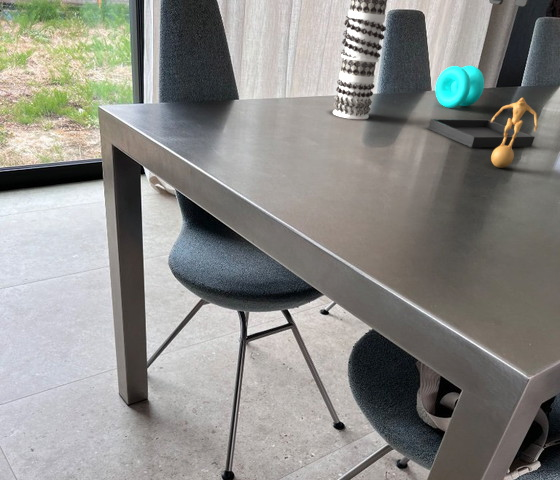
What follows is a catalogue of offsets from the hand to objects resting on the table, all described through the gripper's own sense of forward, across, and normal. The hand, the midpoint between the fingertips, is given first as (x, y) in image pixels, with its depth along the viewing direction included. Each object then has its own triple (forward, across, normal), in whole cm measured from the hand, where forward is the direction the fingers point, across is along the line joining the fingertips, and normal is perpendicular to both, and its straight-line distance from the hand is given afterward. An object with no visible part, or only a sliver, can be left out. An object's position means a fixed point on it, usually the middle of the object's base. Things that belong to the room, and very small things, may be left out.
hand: (508, 5), depth 99 cm
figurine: (+25, -1, -8) cm, 27 cm away
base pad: (+25, +16, +7) cm, 31 cm away
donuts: (+25, +42, +32) cm, 59 cm away
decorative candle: (+25, 0, +33) cm, 41 cm away
